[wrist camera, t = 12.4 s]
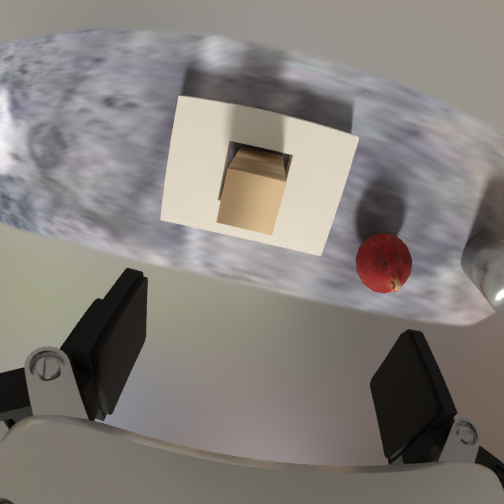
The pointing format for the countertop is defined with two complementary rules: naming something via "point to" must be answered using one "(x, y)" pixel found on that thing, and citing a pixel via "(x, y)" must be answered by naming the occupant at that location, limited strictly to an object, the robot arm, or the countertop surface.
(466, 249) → the round peg
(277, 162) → the square peg
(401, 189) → the countertop surface
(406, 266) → the onion
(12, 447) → the robot arm
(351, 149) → the socket block
